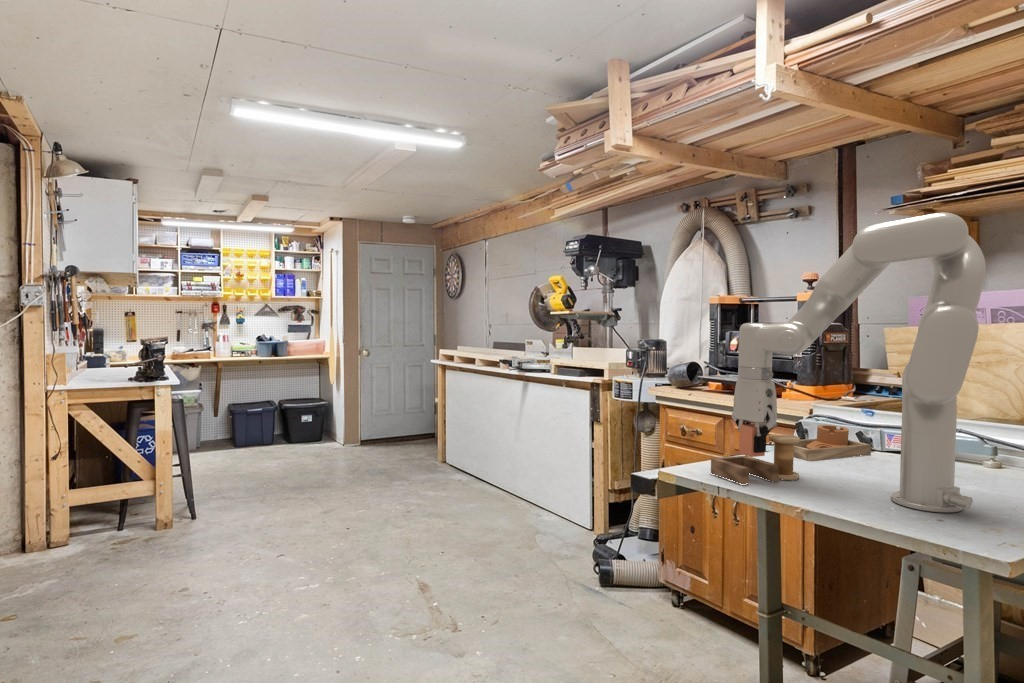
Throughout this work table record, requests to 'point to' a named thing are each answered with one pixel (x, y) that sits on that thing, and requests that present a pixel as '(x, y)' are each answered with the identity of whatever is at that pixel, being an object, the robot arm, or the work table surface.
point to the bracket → (829, 437)
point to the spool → (784, 454)
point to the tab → (748, 440)
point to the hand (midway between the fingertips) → (752, 449)
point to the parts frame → (830, 451)
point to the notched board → (744, 468)
